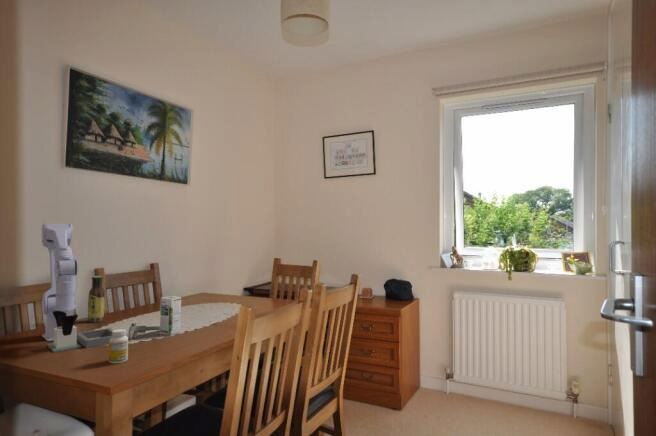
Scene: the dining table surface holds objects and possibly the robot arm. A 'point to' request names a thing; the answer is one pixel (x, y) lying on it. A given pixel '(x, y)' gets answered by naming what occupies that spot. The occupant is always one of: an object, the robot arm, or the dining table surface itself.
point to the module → (64, 337)
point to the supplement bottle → (118, 346)
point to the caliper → (139, 330)
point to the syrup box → (170, 315)
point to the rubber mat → (62, 347)
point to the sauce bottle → (96, 300)
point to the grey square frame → (87, 343)
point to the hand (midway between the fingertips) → (64, 332)
